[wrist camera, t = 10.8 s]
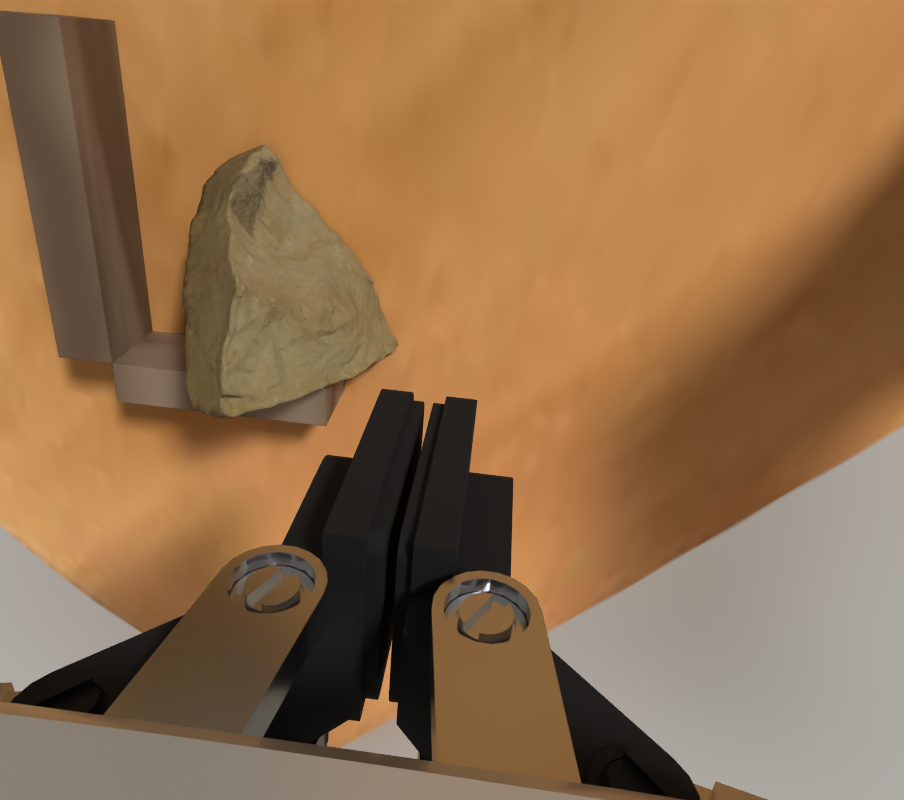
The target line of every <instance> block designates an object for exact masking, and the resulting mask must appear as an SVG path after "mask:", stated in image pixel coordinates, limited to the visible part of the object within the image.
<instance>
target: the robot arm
mask: <svg viewBox="0 0 904 800" xmlns="http://www.w3.org/2000/svg"><path fill="white" fill-rule="evenodd" d="M476 407H477V400H473V399H465V398H456V397H448V396H447V397H446V401H445V404H438V403H433V407H432V411H431V414H430V418H429V422H428V426H427V430H426V434H425V438H424V442H423V446H422V433H423V419H424V402H421V401H414V394H413V392H405V391H397V390H388V389H382V390H381V392H380V394H379V396H378V399H377V401H376V404H375V406H374V409H373V411H372V413H371V416H370V418H369V421H368V423H367V426H366V428H365V430H364V433H363V435H362V438H361V440H360V443H359V445H358V447H357V450H356V452H355V455H354V457H353V458H348V457H340V456H332V455H327V456H325V457H324V459H323V460H322V462H321V464H320V467H319V469H318V471H317V473H316V475H315V477H314V479H313V481H312V483H311V485H310V487H309V489H308V491H307V493H306V496H305V498H304V500H303V502H302V504H301V506H300V508H299V510H298V512H297V514H296V516H295V518H294V520H293V522H292V524H291V527H290V529H289V531H288V533H287V535H286V537H285V539H284V541H283V543H282V545H271V546H262V547H259V548H255V549H252V550H248V551H246V552H244V553H242V554H241V555H239V556H237V557H235V558H233V559H232V560H231V561H230V562H229V563H228V564H227V565H226V566H224V567H223V568H222V569H221V571H220V572H219V573H218V574H217V576H216V577H215V578H214V579H213V581H212V582H211V583H210V584H209V585H208V587H207V588H206V589H205V590H204V592H203V593H202V594H201V595H200V597H199V598H198V599H197V600H196V601H195V603H194V604H193V605H192V606H191V608H190V609H189V610H188V611H187V612H186V614H185V615H183V616H181V617H179V618H176V619H174V620H172V621H169V622H167V623H165V624H162V625H160V626H158V627H155V628H153V629H151V630H149V631H146V632H144V633H142V634H139V635H137V636H135V637H132V638H130V639H128V640H126V641H124V642H121V643H118V644H116V645H114V646H111V647H109V648H107V649H105V650H102V651H100V652H98V653H95V654H93V655H91V656H89V657H86V658H84V659H81V660H79V661H77V662H75V663H72V664H70V665H68V666H65V667H63V668H61V669H58V670H56V671H54V672H51V673H49V674H48V675H46V676H44V677H43V678H40V679H39V680H37V681H35V682H33V683H31V684H30V685H29V686H28V687H26V688H25V689H24V690H23V691H19V692H15V691H14V688H13V685H12V683H0V800H767V799H764V798H761V797H758V796H755V795H752V794H750V793H747V792H744V791H741V790H738V789H735V788H733V787H730V786H727V785H724V784H721V783H719V782H716V783H715V785H714V787H713V790H710V789H707V788H704V787H702V786H698V785H696V784H693V782H692V780H691V779H690V777H689V775H688V774H687V773H686V772H685V771H684V770H683V769H682V768H681V766H680V765H679V764H678V763H677V762H676V761H675V760H674V759H673V758H672V757H671V756H670V755H669V754H668V753H667V752H665V751H664V750H663V749H662V748H661V747H660V746H659V745H658V744H656V743H655V742H654V741H653V740H652V739H651V738H650V737H648V736H647V735H646V734H645V733H644V732H643V731H642V730H641V729H640V728H638V727H637V726H636V725H635V724H634V723H633V722H632V721H631V720H629V719H628V718H627V717H626V716H625V715H624V714H623V713H622V712H621V711H619V710H618V709H617V708H616V707H615V706H614V705H613V704H612V703H610V702H609V701H608V700H607V699H606V698H605V697H604V696H602V695H601V694H600V693H599V692H598V691H597V690H596V689H595V688H594V687H592V686H591V685H590V684H589V683H588V682H587V681H586V680H585V679H583V678H582V677H581V676H580V675H579V674H578V673H576V671H574V670H573V669H572V668H571V667H570V666H569V665H568V664H567V663H565V662H564V661H563V660H562V659H561V658H560V657H559V656H558V655H556V654H555V653H554V652H553V651H552V650H551V648H550V644H549V639H548V635H547V631H546V626H545V622H544V617H543V613H542V609H541V607H540V605H539V603H538V600H537V598H536V597H535V596H534V595H533V593H532V592H531V591H530V590H529V589H528V588H527V587H526V586H524V585H523V584H521V583H520V582H518V581H517V580H515V579H514V578H511V543H512V506H513V478H511V477H503V476H495V475H487V474H479V473H471V472H469V469H470V460H471V451H472V442H473V434H474V425H475V416H476ZM421 447H422V450H421ZM391 641H392V653H391V670H390V688H389V701H390V702H398V710H397V725H398V726H399V728H400V729H401V730H402V731H403V733H404V734H405V735H406V736H407V738H408V739H409V740H410V741H411V742H412V744H413V745H414V746H415V748H416V749H417V750H418V759H412V758H404V757H397V756H390V755H384V754H376V753H370V752H363V751H355V750H349V749H342V748H335V747H328V746H327V743H328V732H329V731H331V730H333V729H334V728H336V727H337V726H339V725H341V724H342V723H344V722H346V721H347V720H355V721H360V719H361V715H362V711H363V706H364V702H365V698H369V699H376V700H378V698H379V695H380V691H381V686H382V682H383V677H384V673H385V668H386V664H387V659H388V655H389V650H390V646H391Z"/></svg>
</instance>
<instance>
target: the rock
mask: <svg viewBox="0 0 904 800" xmlns="http://www.w3.org/2000/svg"><path fill="white" fill-rule="evenodd" d="M185 267H186V273H185V277H184V283H183V291H182V300H183V305H184V309H185V313H186V325H185V356H186V370H187V374H186V386H187V389H188V393H189V396H190V398H191V401H192V405H193V407H194V408H196V409H197V410H199V411H201V412H203V413H205V414H208V415H212V416H214V417H218V418H223V417H236V416H239V415H242V414H244V413H247V412H251V411H255V410H259V409H266V408H271V407H273V406H275V405H277V404H279V403H284V402H288V401H293V400H295V399H298V398H301V397H303V396H305V395H307V394H309V393H311V392H313V391H315V390H318V389H323V388H324V387H326V386H327V385H329V384H333V383H337V382H338V381H341V380H346V379H351V378H353V377H355V376H357V375H358V374H360V373H361V372H363V371H364V370H366V369H367V368H368V367H369V366H370V365H371V364H372V363H374V362H377V361H381V360H383V359H384V357H385V356H386V355H388V354H390V353H393V352H394V351H395V349H396V347H397V345H398V342H397V339H396V338H395V337H393V336H392V335H391V333H390V332H389V330H388V327H387V324H386V321H385V318H384V315H383V313H382V311H381V309H380V304H379V299H378V296H377V294H376V292H375V290H374V288H373V286H372V284H373V280H372V279H371V278H370V276H369V275H368V274H367V273H366V272H365V271H364V270H363V268H362V267H361V265H360V264H359V262H358V261H357V259H356V258H355V256H354V254H353V252H352V251H351V249H350V248H349V247H347V246H345V244H344V243H343V242H342V241H341V239H340V238H339V237H338V235H337V234H336V233H335V232H333V231H330V230H329V228H328V227H327V226H326V224H325V223H324V222H323V221H322V220H321V219H320V216H319V213H318V212H317V211H316V210H315V209H314V208H313V207H312V206H311V205H310V204H309V203H308V202H307V201H306V200H304V199H303V198H301V197H300V196H299V195H298V194H297V193H296V192H295V191H294V190H293V189H292V187H291V185H290V182H289V180H288V177H287V175H286V174H285V172H284V170H283V168H282V165H281V162H280V161H279V159H278V158H277V156H276V155H275V154H274V153H273V152H272V151H271V150H270V149H269V148H268V146H267V145H261V146H258V147H256V148H253V149H251V150H249V151H247V152H244V153H242V154H239V155H236V156H235V157H233V158H231V159H229V160H228V161H226V162H225V163H224V164H222V165H221V166H220V167H219V168H218V169H216V171H215V172H214V174H213V175H212V176H211V177H210V178H209V179H208V180H207V181H206V183H205V184H204V185H203V191H202V196H201V201H200V203H199V205H198V210H197V214H196V215H195V217H194V218H193V219H192V221H191V225H190V231H189V250H188V257H187V259H186V263H185Z"/></svg>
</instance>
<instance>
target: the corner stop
mask: <svg viewBox="0 0 904 800" xmlns="http://www.w3.org/2000/svg"><path fill="white" fill-rule="evenodd" d="M0 56H1V61H2V66H3V71H4V77H5V82H6V87H7V92H8V97H9V102H10V107H11V113H12V118H13V123H14V128H15V133H16V138H17V143H18V148H19V154H20V159H21V164H22V169H23V174H24V179H25V184H26V190H27V195H28V200H29V205H30V210H31V215H32V220H33V226H34V231H35V236H36V241H37V246H38V251H39V256H40V262H41V267H42V272H43V277H44V282H45V287H46V292H47V298H48V303H49V308H50V313H51V318H52V323H53V328H54V333H55V339H56V344H57V349H58V354H59V357H61V358H70V359H78V360H87V361H96V362H104V363H112V366H113V372H114V379H115V385H116V392H117V398H118V402H126V403H135V404H143V405H151V406H160V407H168V408H177V409H185V410H194V411H199V410H197V409H196V408H194V407H193V405H192V401H191V398H190V396H189V393H188V389H187V386H186V374H187V370H186V356H185V335H179V334H171V333H162V332H153V331H152V324H151V316H150V307H149V299H148V291H147V283H146V275H145V267H144V258H143V250H142V242H141V234H140V226H139V218H138V209H137V201H136V193H135V185H134V177H133V169H132V160H131V152H130V144H129V136H128V128H127V119H126V111H125V103H124V95H123V87H122V79H121V70H120V62H119V54H118V46H117V38H116V30H115V21H112V20H102V19H92V18H83V17H73V16H63V15H53V14H39V13H24V12H10V11H0ZM343 390H344V380H341V381H338V382H337V383H333V384H329V385H327V386H326V387H324V388H323V389H318V390H315V391H313V392H311V393H309V394H307V395H305V396H303V397H301V398H298V399H295V400H293V401H288V402H284V403H279V404H277V405H275V406H273V407H271V408H266V409H259V410H255V411H251V412H247V413H244V414H242V415H239V416H245V417H253V418H262V419H270V420H279V421H287V422H296V423H304V424H313V425H321V426H326V425H327V423H328V421H329V419H330V417H331V415H332V413H333V411H334V409H335V407H336V405H337V402H338V400H339V398H340V396H341V394H342V392H343Z"/></svg>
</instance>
